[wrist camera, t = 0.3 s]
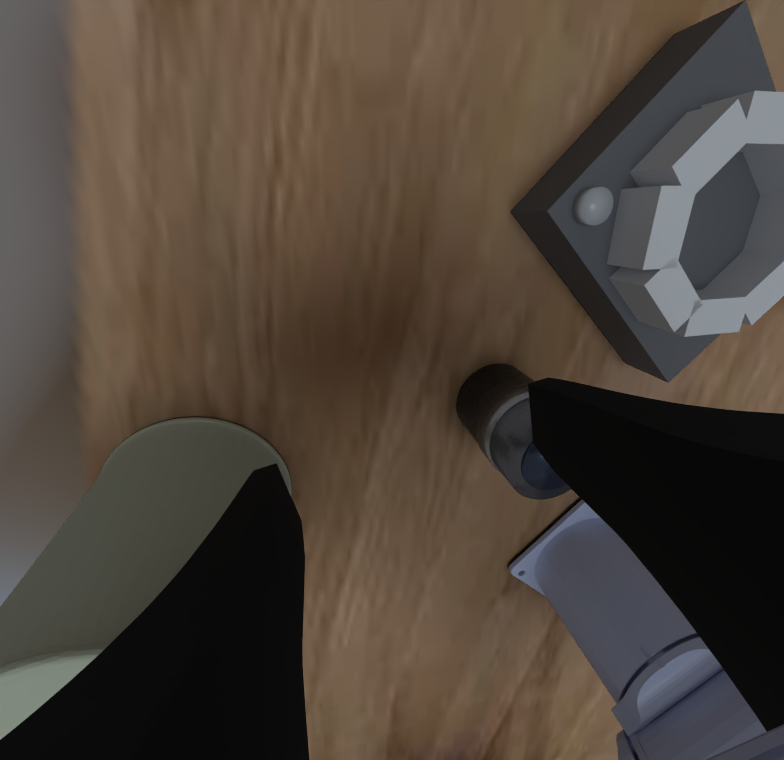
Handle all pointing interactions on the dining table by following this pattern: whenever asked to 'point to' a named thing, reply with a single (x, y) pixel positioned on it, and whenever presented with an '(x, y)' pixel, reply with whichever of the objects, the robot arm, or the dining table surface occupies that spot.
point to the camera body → (673, 200)
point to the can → (120, 551)
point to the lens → (507, 429)
